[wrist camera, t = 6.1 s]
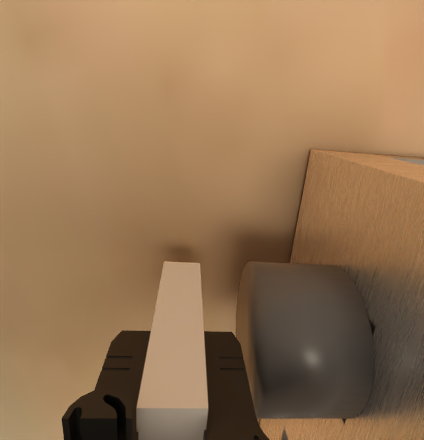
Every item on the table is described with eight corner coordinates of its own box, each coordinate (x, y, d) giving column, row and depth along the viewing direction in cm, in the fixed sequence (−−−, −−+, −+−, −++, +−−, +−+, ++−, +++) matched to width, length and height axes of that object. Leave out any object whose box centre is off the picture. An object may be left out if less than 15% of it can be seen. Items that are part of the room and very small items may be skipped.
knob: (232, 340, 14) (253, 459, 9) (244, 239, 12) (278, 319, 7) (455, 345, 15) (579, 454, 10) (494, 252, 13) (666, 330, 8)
